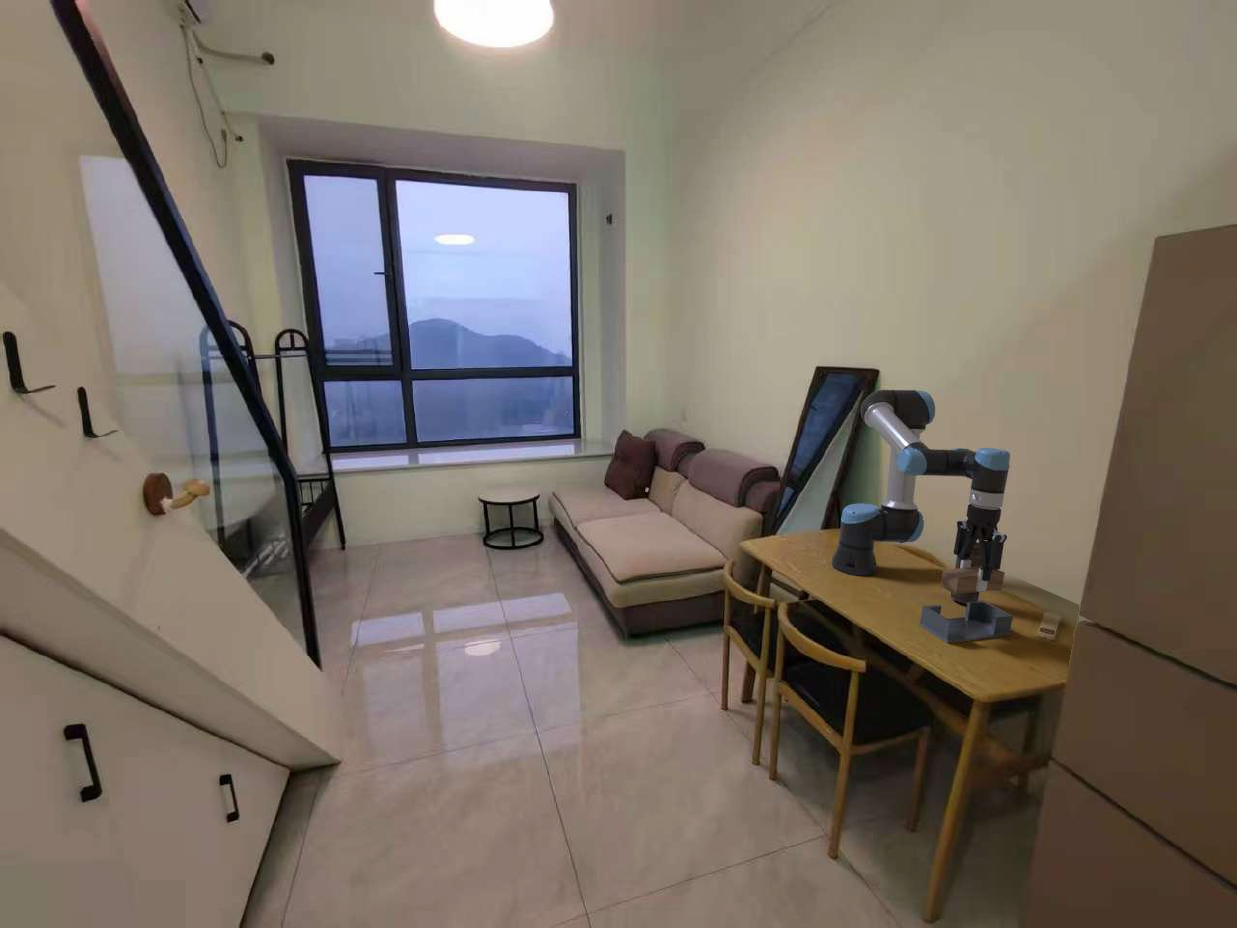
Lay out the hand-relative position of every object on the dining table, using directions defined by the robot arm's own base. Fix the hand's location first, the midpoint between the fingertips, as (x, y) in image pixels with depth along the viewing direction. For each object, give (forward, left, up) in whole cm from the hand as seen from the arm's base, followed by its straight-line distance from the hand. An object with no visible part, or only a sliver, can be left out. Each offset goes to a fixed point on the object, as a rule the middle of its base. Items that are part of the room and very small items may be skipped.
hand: (971, 586), depth 148 cm
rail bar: (0, 0, -1) cm, 1 cm away
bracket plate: (0, 0, -14) cm, 14 cm away
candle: (-15, +15, -14) cm, 25 cm away
